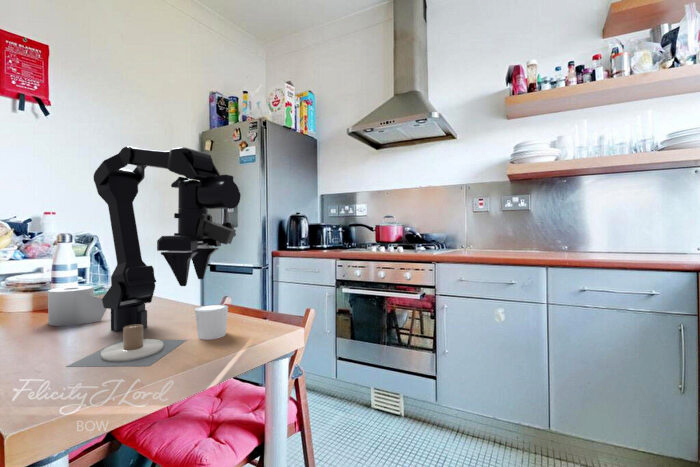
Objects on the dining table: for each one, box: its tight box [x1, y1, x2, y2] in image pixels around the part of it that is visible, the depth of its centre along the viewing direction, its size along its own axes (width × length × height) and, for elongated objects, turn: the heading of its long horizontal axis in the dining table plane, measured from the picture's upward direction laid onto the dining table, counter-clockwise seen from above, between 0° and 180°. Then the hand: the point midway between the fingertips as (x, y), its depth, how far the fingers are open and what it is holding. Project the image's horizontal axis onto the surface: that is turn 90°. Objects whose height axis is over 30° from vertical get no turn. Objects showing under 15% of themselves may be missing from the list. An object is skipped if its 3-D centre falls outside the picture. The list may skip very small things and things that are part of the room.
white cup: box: [194, 304, 229, 341], centre depth 75 cm, size 7×7×7 cm
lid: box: [101, 324, 163, 362], centre depth 65 cm, size 10×10×5 cm
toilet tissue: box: [47, 285, 108, 327], centre depth 91 cm, size 9×13×9 cm
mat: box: [65, 339, 187, 368], centre depth 65 cm, size 14×14×1 cm
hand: (192, 282), depth 72 cm, fingers open, 9 cm apart
